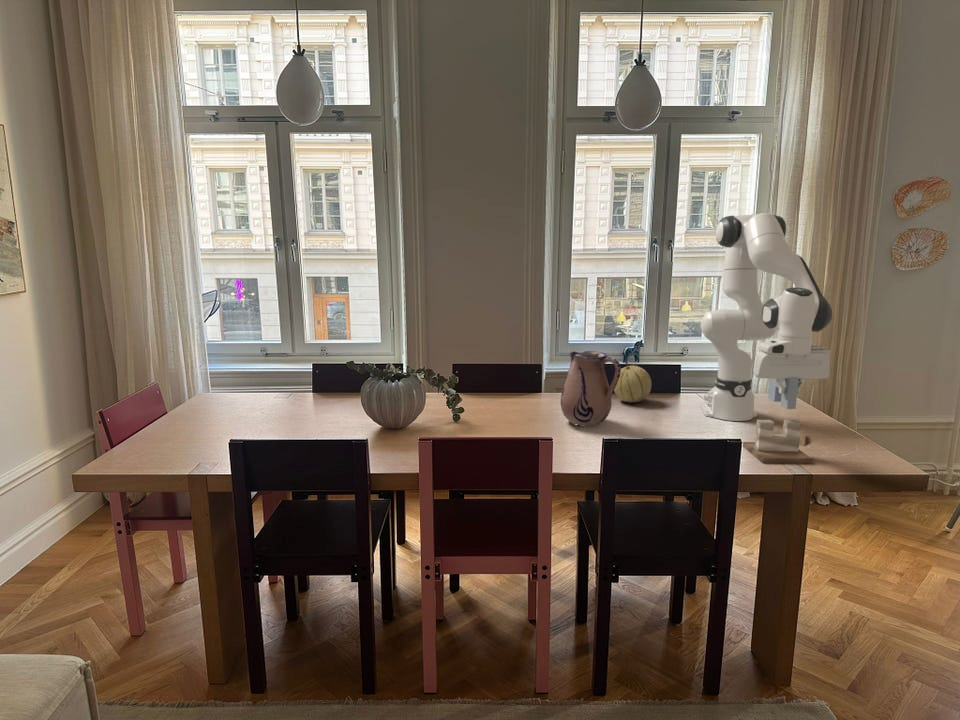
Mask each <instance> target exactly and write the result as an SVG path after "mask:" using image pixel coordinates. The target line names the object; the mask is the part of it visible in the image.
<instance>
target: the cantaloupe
mask: <svg viewBox="0 0 960 720" xmlns="http://www.w3.org/2000/svg"><path fill="white" fill-rule="evenodd" d="M651 391H652V379H651V376H650V375H649V373H648V372H647V371H646V370H645V369H644V368H643V367H640V366H639V365H627V366H624V367H622V368H621V374H620V378H619V380H618V383H617V385H616V387H615V389H614V391H613V393H615V395H616V396H617V397H618V399H620V400H621V401H623V402H626V403H638V402H641V401H644V399H646V398H647V397H648V396H649V394H650V393H651Z"/></svg>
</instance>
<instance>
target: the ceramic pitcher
mask: <svg viewBox="0 0 960 720" xmlns="http://www.w3.org/2000/svg"><path fill="white" fill-rule="evenodd" d="M569 354H570V364H569V369H568V371H567V374H566V378H565V380H564V383H563V387H562V390H561V395H560V409H561V412H562V414H563V416H564V417H565V418H566V420H567V421H569V422H570V423H571V424H572V423H573V425H574V424H577V425H586V426H585V427H594V425H595V426H598V425H600V424H602V423H603V422H604V421H605V420H606V419H607V418H608V416H609V415H610V413H611V411H612V395H613V393H614V389H615V387H616V385H617V383H618V380H619V378H620V374H621V369H622V368H621V364H620V362H619V361H618V360H617V359H616V358H615V357H610V356H608V354H607V353H606V352H601V351H595V350H586V351H583V352H578V351H570V352H569ZM609 362H610V363H612V364H613V366H614V369H615V370H614V376H613V379H612V381H611V383H610V384H609V381H608V377H607V375H606V371H605V364H606V363H609ZM577 425H576V426H577Z"/></svg>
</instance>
